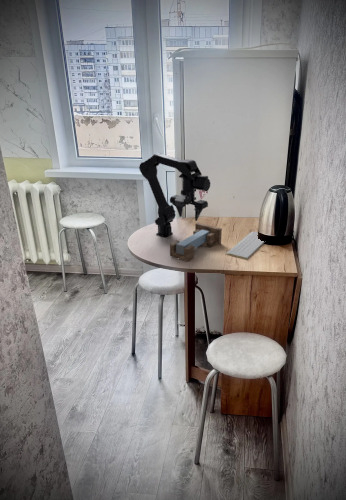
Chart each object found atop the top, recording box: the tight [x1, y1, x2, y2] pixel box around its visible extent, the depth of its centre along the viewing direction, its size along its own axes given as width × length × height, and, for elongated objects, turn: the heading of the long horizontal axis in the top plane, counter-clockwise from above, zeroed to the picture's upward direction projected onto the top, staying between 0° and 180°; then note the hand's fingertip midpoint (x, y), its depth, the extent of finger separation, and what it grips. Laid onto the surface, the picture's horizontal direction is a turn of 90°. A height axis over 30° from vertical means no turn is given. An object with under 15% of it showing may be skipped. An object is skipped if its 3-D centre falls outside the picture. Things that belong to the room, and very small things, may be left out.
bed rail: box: [176, 229, 210, 255], centre depth 183 cm, size 4×22×4 cm, turn 143°
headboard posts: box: [169, 222, 223, 262], centre depth 184 cm, size 14×26×8 cm, turn 143°
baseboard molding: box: [225, 229, 265, 260], centre depth 190 cm, size 31×3×12 cm
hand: (188, 218), depth 189 cm, fingers open, 9 cm apart
